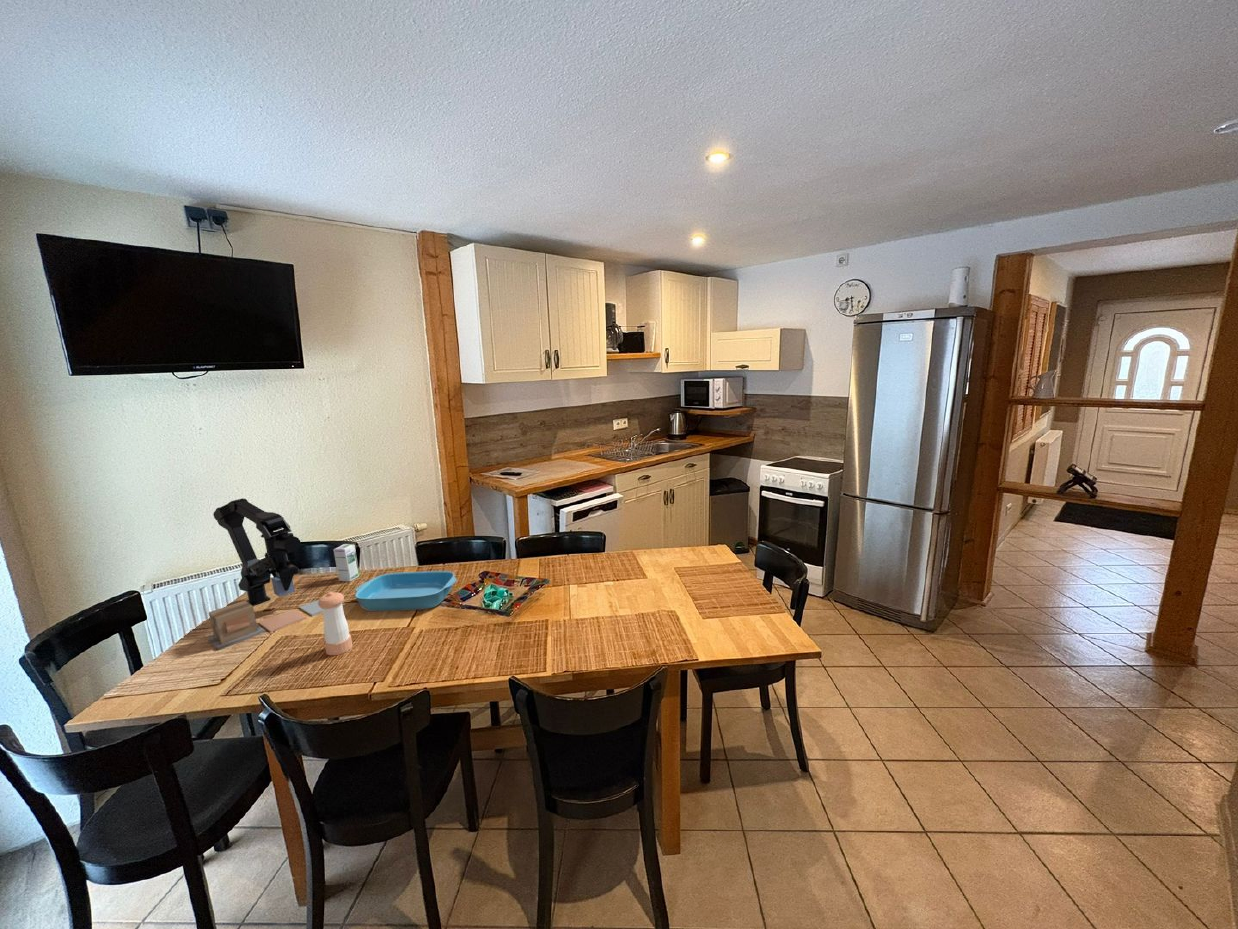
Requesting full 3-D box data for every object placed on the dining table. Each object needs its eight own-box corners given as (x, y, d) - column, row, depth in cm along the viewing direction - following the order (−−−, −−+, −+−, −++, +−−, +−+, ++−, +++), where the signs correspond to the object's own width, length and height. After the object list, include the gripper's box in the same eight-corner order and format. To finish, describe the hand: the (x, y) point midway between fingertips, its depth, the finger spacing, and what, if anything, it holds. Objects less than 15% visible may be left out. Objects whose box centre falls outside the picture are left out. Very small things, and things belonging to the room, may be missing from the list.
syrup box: (350, 581, 206) (345, 549, 203) (338, 581, 207) (333, 548, 204) (360, 576, 212) (355, 544, 209) (348, 575, 213) (343, 543, 210)
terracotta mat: (259, 623, 174) (258, 622, 174) (293, 610, 183) (293, 609, 183) (270, 632, 168) (270, 630, 168) (306, 618, 176) (305, 617, 176)
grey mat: (299, 608, 184) (299, 606, 184) (330, 596, 193) (330, 595, 193) (312, 616, 178) (311, 614, 178) (343, 603, 186) (343, 602, 186)
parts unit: (207, 640, 164) (201, 613, 163) (253, 623, 175) (248, 597, 173) (218, 650, 158) (211, 622, 156) (265, 632, 168) (259, 605, 166)
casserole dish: (344, 616, 177) (341, 598, 175) (375, 589, 199) (373, 572, 197) (446, 613, 176) (443, 594, 174) (466, 585, 198) (464, 569, 196)
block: (274, 593, 183) (271, 578, 182) (289, 588, 187) (286, 573, 186) (279, 597, 180) (276, 581, 179) (294, 591, 184) (291, 576, 183)
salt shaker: (334, 658, 151) (324, 600, 147) (321, 651, 154) (311, 594, 151) (357, 646, 157) (348, 590, 153) (344, 640, 160) (335, 585, 157)
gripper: (241, 551, 180) (249, 591, 183) (259, 561, 169) (268, 603, 172) (275, 542, 188) (283, 580, 191) (295, 551, 177) (303, 591, 180)
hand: (283, 588), depth 183 cm, fingers closed on block, 5 cm apart
